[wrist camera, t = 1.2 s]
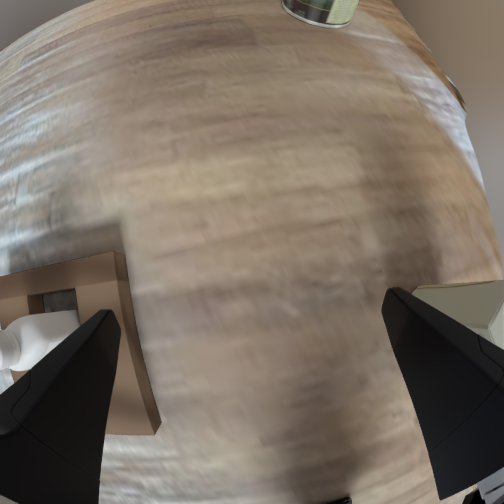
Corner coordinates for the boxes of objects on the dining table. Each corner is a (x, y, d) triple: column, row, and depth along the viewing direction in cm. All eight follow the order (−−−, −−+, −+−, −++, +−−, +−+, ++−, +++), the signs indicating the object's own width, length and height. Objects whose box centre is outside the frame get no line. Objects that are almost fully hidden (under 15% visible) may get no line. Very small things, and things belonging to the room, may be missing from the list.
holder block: (161, 422, 20) (154, 435, 18) (40, 415, 19) (28, 422, 17) (125, 255, 22) (113, 251, 19) (10, 279, 21) (-5, 277, 18)
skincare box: (444, 328, 23) (535, 339, 11) (417, 360, 22) (509, 389, 10) (417, 282, 23) (516, 274, 11) (388, 315, 23) (488, 328, 10)
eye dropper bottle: (99, 357, 21) (11, 399, 9) (52, 353, 20) (-35, 381, 8) (92, 308, 21) (-5, 319, 9) (47, 309, 21) (-47, 314, 9)
